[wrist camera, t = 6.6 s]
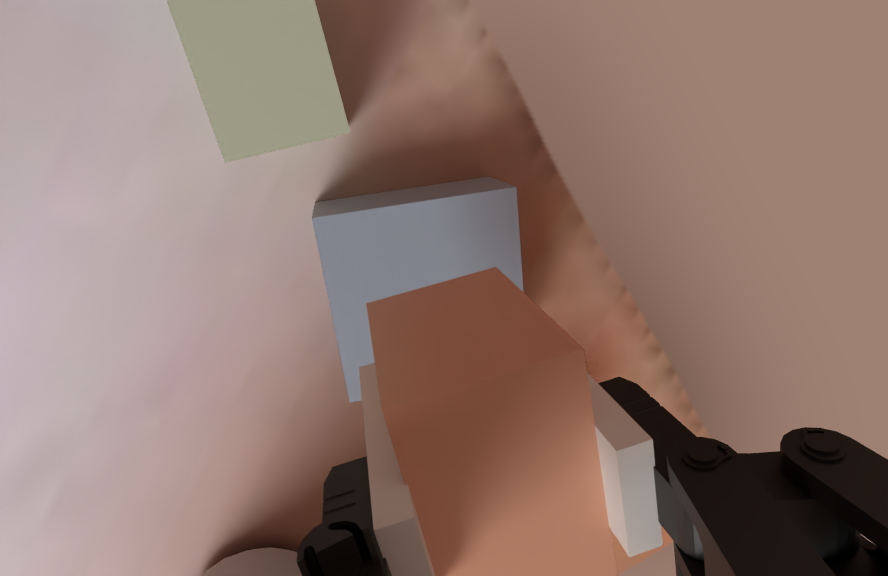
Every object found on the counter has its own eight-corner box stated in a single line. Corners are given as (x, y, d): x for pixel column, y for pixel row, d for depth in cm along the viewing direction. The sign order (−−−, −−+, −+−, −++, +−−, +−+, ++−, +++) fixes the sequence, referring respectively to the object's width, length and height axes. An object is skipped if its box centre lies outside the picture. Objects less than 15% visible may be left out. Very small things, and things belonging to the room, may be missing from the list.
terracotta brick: (366, 303, 15) (381, 410, 10) (495, 266, 16) (583, 348, 10) (422, 491, 18) (461, 665, 12) (534, 455, 18) (622, 607, 12)
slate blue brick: (315, 201, 23) (312, 218, 19) (488, 175, 24) (516, 186, 21) (347, 361, 26) (349, 402, 22) (501, 331, 27) (528, 365, 23)
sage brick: (188, -39, 19) (130, -102, 14) (295, -60, 20) (280, -128, 14) (252, 150, 22) (225, 162, 16) (346, 128, 22) (350, 132, 17)
